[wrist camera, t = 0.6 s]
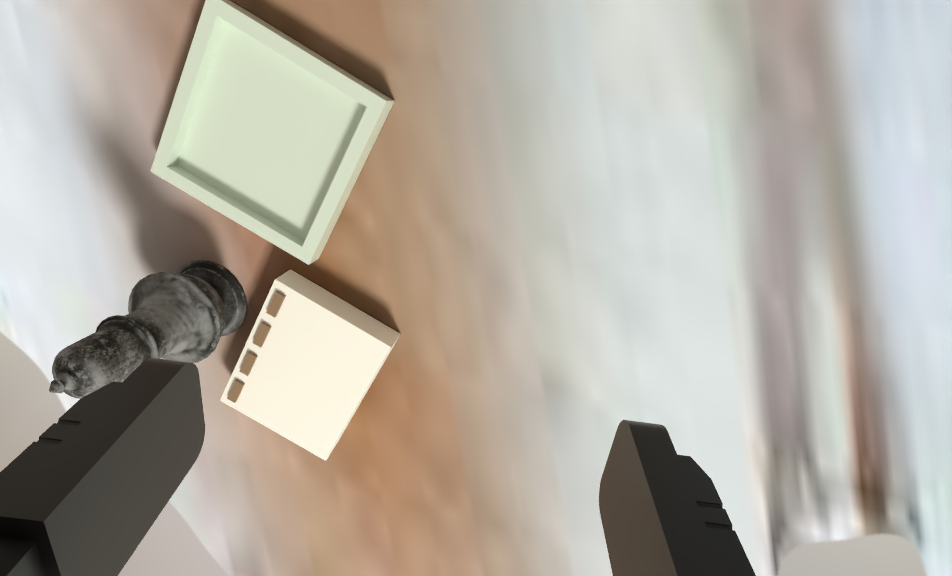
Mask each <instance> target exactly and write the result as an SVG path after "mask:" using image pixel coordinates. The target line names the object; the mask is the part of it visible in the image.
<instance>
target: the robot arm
mask: <svg viewBox="0 0 952 576" xmlns="http://www.w3.org/2000/svg"><path fill="white" fill-rule="evenodd" d="M204 435H205V423H204V414H203V405H202V397H201V388H200V380H199V372H198V369H197V367H196V365H195V364H193V363H189V362H181V361H174V360H166V359H158V358H149V359H147V360H145V361H144V362H143V363H141V364H140V365H139V366H138V367H137V368H136V369H135V370H134V371H133V372H132V373H131V374H130V375H129V376H128V377H127V378H126V379H125V380H124V381H123V382H115V381H113V382H111V383H109V384H107V385H105V386H103V387H101V388H99V389H98V390H96V391H94V392H92V393H90V394H88V395H86V396H84V397H82V398H81V399H80V400H79V401H78V402H77V403H76V404H75V405H73V406H72V407H71V408H70V409H69V410H68V411H67V412H66V413H65V414H64V415H63V416H61V417H60V418H59V421H58V423H57V424H53V425H52V426H50V427H49V428H48V429H47V430H46V431H45V432H44V433H43V434H42V435H41V436H40V437H39V440H38V442H33V443H32V444H31V445H30V446H29V447H28V448H27V449H25V450H24V451H23V452H22V453H21V454H20V455H19V456H18V457H17V458H16V459H14V460H13V461H12V462H11V463H10V464H9V465H8V466H7V467H6V468H5V469H4V470H2V471H1V472H0V576H118V574H119V573H120V571H121V570H122V568H123V567H124V565H125V564H126V562H127V561H128V559H129V558H130V557H131V555H132V554H133V552H134V551H135V549H136V548H137V546H138V545H139V543H140V542H141V540H142V539H143V537H144V536H145V535H146V533H147V532H148V530H149V529H150V527H151V526H152V524H153V523H154V521H155V520H156V518H157V517H158V515H159V514H160V513H161V511H162V510H163V508H164V507H165V505H166V504H167V502H168V501H169V499H170V498H171V496H172V495H173V493H174V492H175V491H176V489H177V488H178V486H179V485H180V483H181V482H182V480H183V479H184V477H185V476H186V474H187V473H188V471H189V470H190V468H191V467H192V466H193V464H194V463H195V461H196V459H197V457H198V455H199V453H200V451H201V448H202V445H203V441H204ZM722 505H723V504H722V502H721V499H720V497H719V495H718V493H717V491H716V489H715V486H714V484H713V482H712V480H711V478H710V477H709V476H708V475H707V474H706V473H705V472H704V471H703V470H702V469H701V468H700V466H699V465H698V464H697V463H696V462H695V461H694V460H693V459H692V458H691V457H690V456H683V455H677V453H676V451H675V449H674V446H673V444H672V441H671V439H670V436H669V434H668V432H667V429H666V428H665V427H664V426H663V425H659V424H651V423H643V422H636V421H628V420H623V421H621V423H620V424H619V426H618V429H617V432H616V435H615V438H614V441H613V444H612V447H611V450H610V453H609V457H608V460H607V463H606V466H605V469H604V472H603V475H602V479H601V483H600V491H599V507H600V514H601V519H602V524H603V529H604V534H605V539H606V544H607V548H608V553H609V558H610V563H611V568H612V573H613V576H756V575H755V573H754V571H753V569H752V567H751V564H750V562H749V560H748V558H747V556H746V554H745V551H744V549H743V547H742V545H741V543H740V541H739V538H738V536H737V534H736V532H735V531H733V530H732V523H731V521H730V519H729V517H728V515H727V512H726V510H725V509H723V508H722Z"/></svg>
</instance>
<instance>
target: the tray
mask: <svg viewBox="0 0 952 576" xmlns="http://www.w3.org/2000/svg"><path fill="white" fill-rule="evenodd" d="M393 103H394V100H392V99H391V98H389V97H387V96H386V95H384V94H382V93H381V92H379V91H378V90H376V89H374V88H373V87H371V86H369V85H368V84H366V83H364V82H363V81H361V80H360V79H358V78H356V77H355V76H353V75H351V74H350V73H348V72H346V71H345V70H343V69H341V68H340V67H338V66H337V65H335V64H333V63H332V62H330V61H328V60H327V59H325V58H323V57H322V56H320V55H319V54H317V53H315V52H314V51H312V50H310V49H309V48H307V47H305V46H304V45H302V44H301V43H299V42H297V41H296V40H294V39H292V38H291V37H289V36H287V35H286V34H284V33H283V32H281V31H279V30H278V29H276V28H274V27H273V26H271V25H269V24H268V23H266V22H265V21H263V20H261V19H260V18H258V17H256V16H255V15H253V14H251V13H250V12H248V11H247V10H245V9H243V8H242V7H240V6H238V5H237V4H235V3H233V2H232V1H230V0H206V1H205V4H204V7H203V10H202V13H201V16H200V19H199V22H198V26H197V29H196V32H195V35H194V38H193V41H192V44H191V47H190V50H189V53H188V56H187V60H186V63H185V66H184V69H183V72H182V75H181V78H180V81H179V84H178V87H177V91H176V94H175V97H174V100H173V103H172V106H171V109H170V112H169V115H168V118H167V122H166V125H165V128H164V131H163V134H162V137H161V140H160V143H159V146H158V149H157V152H156V156H155V159H154V162H153V165H152V168H151V171H150V172H152V173H154V174H155V175H157V176H159V177H160V178H162V179H164V180H165V181H167V182H169V183H171V184H172V185H174V186H176V187H177V188H179V189H181V190H182V191H184V192H186V193H188V194H189V195H191V196H193V197H194V198H196V199H198V200H199V201H201V202H203V203H205V204H206V205H208V206H210V207H211V208H213V209H215V210H216V211H218V212H220V213H221V214H223V215H225V216H227V217H228V218H230V219H232V220H233V221H235V222H237V223H238V224H240V225H242V226H244V227H245V228H247V229H249V230H250V231H252V232H254V233H255V234H257V235H259V236H261V237H262V238H264V239H266V240H267V241H269V242H271V243H272V244H274V245H276V246H277V247H279V248H281V249H283V250H284V251H286V252H288V253H289V254H291V255H293V256H294V257H296V258H298V259H300V260H301V261H303V262H305V263H306V264H308V265H309V264H311V263H312V262H314V261H315V260H317V259H318V258H319V257H320V255H321V253H322V251H323V249H324V247H325V245H326V243H327V241H328V239H329V236H330V234H331V232H332V230H333V228H334V226H335V224H336V222H337V220H338V218H339V216H340V214H341V211H342V209H343V207H344V205H345V203H346V201H347V199H348V197H349V195H350V193H351V191H352V189H353V186H354V184H355V182H356V180H357V178H358V176H359V174H360V172H361V170H362V168H363V166H364V164H365V162H366V159H367V157H368V155H369V153H370V151H371V149H372V147H373V145H374V143H375V141H376V139H377V137H378V134H379V132H380V130H381V128H382V126H383V124H384V122H385V120H386V118H387V116H388V114H389V112H390V110H391V107H392V105H393Z"/></svg>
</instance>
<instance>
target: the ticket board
mask: <svg viewBox="0 0 952 576" xmlns="http://www.w3.org/2000/svg"><path fill="white" fill-rule="evenodd" d="M399 336H400V333H398V332H396V331H395V330H393V329H391V328H390V327H388V326H386V325H385V324H383V323H381V322H379V321H378V320H376V319H374V318H373V317H371V316H369V315H368V314H366V313H364V312H362V311H361V310H359V309H357V308H356V307H354V306H352V305H351V304H349V303H347V302H345V301H344V300H342V299H340V298H339V297H337V296H335V295H334V294H332V293H330V292H328V291H327V290H325V289H323V288H322V287H320V286H318V285H317V284H315V283H313V282H311V281H310V280H308V279H306V278H305V277H303V276H301V275H299V274H298V273H296V272H294V271H293V270H291V269H290V270H289V271H287V272H286V273H284V274H282V275H281V276H279V277H278V278H276V279H275V280H274V283H273V285H272V287H271V289H270V291H269V294H268V296H267V298H266V300H265V302H264V305H263V307H262V309H261V311H260V314H259V316H258V318H257V320H256V322H255V325H254V327H253V329H252V331H251V333H250V336H249V338H248V340H247V342H246V344H245V347H244V349H243V351H242V353H241V355H240V358H239V360H238V362H237V364H236V366H235V369H234V371H233V373H232V375H231V378H230V380H229V382H228V384H227V386H226V389H225V391H224V393H223V395H222V397H221V400H220V401H222V402H224V403H225V404H227V405H229V406H231V407H232V408H234V409H236V410H238V411H239V412H241V413H243V414H245V415H246V416H248V417H250V418H252V419H253V420H255V421H257V422H259V423H260V424H262V425H264V426H266V427H267V428H269V429H271V430H273V431H274V432H276V433H278V434H280V435H281V436H283V437H285V438H287V439H288V440H290V441H292V442H294V443H295V444H297V445H299V446H301V447H302V448H304V449H306V450H308V451H309V452H311V453H313V454H315V455H317V456H318V457H320V458H322V459H324V460H325V461H326V460H327V458H328V456H329V455H330V453H331V452H332V450H333V449H334V447H335V446H336V444H337V442H338V441H339V439H340V437H341V436H342V434H343V432H344V430H345V429H346V427H347V425H348V424H349V422H350V420H351V418H352V417H353V415H354V413H355V411H356V410H357V408H358V406H359V405H360V403H361V401H362V399H363V398H364V396H365V394H366V393H367V391H368V389H369V387H370V386H371V384H372V382H373V381H374V379H375V377H376V375H377V374H378V372H379V370H380V368H381V367H382V365H383V363H384V362H385V360H386V358H387V356H388V355H389V353H390V351H391V350H392V348H393V346H394V344H395V343H396V341H397V339H398V338H399Z"/></svg>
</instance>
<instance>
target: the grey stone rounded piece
mask: <svg viewBox="0 0 952 576" xmlns="http://www.w3.org/2000/svg"><path fill="white" fill-rule="evenodd" d="M128 312H129V314H128V315H126V316H118V315H116V316H112V317H108V318H107V319H105V320H103V321H102V322H101V323H100V324H99V326H98V327H97V330H96V332H95V333H93V334H91V335H89V336H87V337H85V338H83V339H81V340H80V341H78V342H76V343H74V344H72V345H70V346H68V347H66V348H64V349H63V350H62V351H60V352H59V353H58V355H57V356H56V357H55V360H54V363H53V366H52V374H53V378H54V380H53V381H52V382H51V385H50V389H49V391H50V392H53V393H62V392H65V393H66V394H68V395H70V396H72V397H75V398H80V399H81V398H82V397H84V396H86V395H88V394H90V393H92V392H94V391H96V390H98V389H99V388H101V387H103V386H105V385H107V384H109V383H111V382H113V381H115V382H122V381H124V380H125V379H126V378H127V377H128V376H129V375H130V374H131V373H132V372H133V371H134V370H135V369H136V368H137V367H138V366H139V365H140V364H141V363H143V362H144V361H145V360H147V359H149V358H158V359H160V358H163V359H166V360H174V361H181V362H189V363H196V362H199V361H201V360H203V359H205V358H207V357H208V356H209V355H210V354H211V353H212V352H213V351H214V350H215V348H216V346H217V344H218V342H219V340H220V337H221V336H225V335H229V334H230V333H232V332H234V331H236V330H237V329H238V328H239V327H240V326H241V325H242V323H243V321H244V319H245V317H246V312H247V301H246V296H245V293H244V291H243V288H242V286H241V285H240V283H239V282H238V280H237V279H236V278H235V277H234V276H233V275H232V274H231V273H230V272H229V271H228V270H227V269H225V268H223V267H222V266H220V265H218V264H215V263H212V262H209V261H195V262H190V263H188V264H186V265H184V266H183V267H181V268H180V269H179V270H178V271H177V273H163V272H160V273H155V274H151V275H148V276H146V277H145V278H143V279H141V280H140V281H139V282H138V283H137V284H136V285H135V287H134V288H133V289H132V292H131V295H130V297H129V306H128Z"/></svg>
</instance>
